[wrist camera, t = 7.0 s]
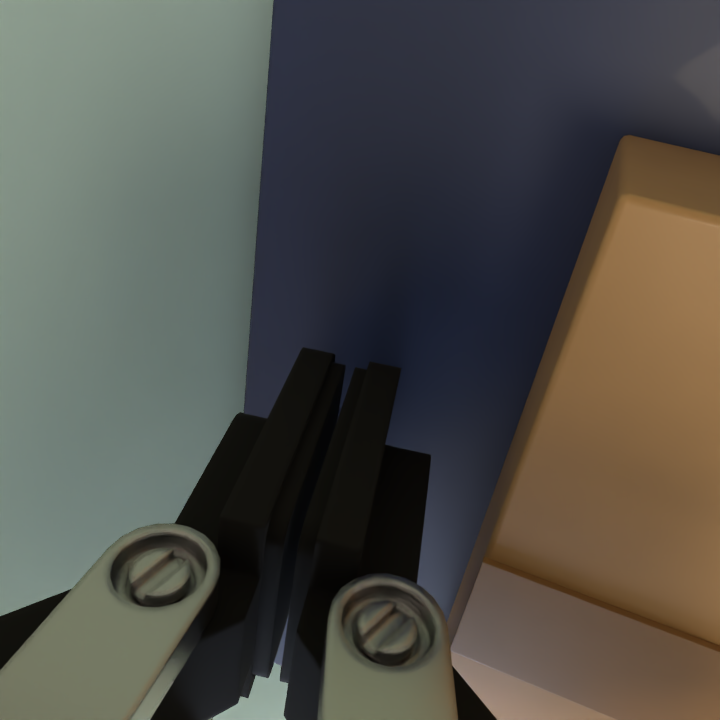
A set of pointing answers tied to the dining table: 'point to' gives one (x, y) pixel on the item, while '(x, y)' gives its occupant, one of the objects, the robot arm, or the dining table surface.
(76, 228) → the dining table surface
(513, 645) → the cardboard box
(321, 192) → the sloping board
